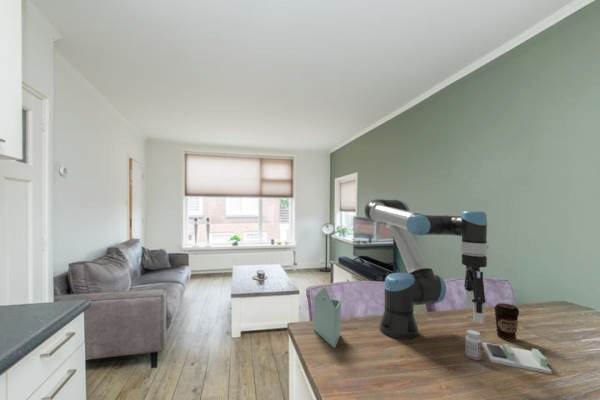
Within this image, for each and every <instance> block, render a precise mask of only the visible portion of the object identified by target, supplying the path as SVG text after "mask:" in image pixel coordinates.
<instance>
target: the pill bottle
mask: <svg viewBox="0 0 600 400" xmlns="http://www.w3.org/2000/svg"><path fill="white" fill-rule="evenodd" d="M464 341H465V349H464V350H465V351H464V354H465V356H466V357H467V358H469V359H472V360H475V361H479V360H481V359H482V339H481V333H480V332H479V331H476V330H474V329H468V330H466V336H465V340H464Z"/></svg>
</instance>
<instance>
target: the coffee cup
mask: <svg viewBox="0 0 600 400" xmlns="http://www.w3.org/2000/svg"><path fill="white" fill-rule="evenodd" d="M493 309H494V315H495V328H496V335H497V337H498V338H500V339H502V340H505V341H509V342H510V341H511V342H513V341H514V342H515V341H517V331H518V326H519V319H518V318H519V315H520V310H519V308H518V306H515V304H511V303H510V304H509V303H501V302H500V303H499V302H498V303H496V305H495V306H494V308H493Z"/></svg>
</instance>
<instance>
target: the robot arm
mask: <svg viewBox="0 0 600 400" xmlns="http://www.w3.org/2000/svg"><path fill="white" fill-rule="evenodd" d="M364 215H365V216H366V218H367V219H368V220H370V221H372V222H376V223H380V222H381V223H383V224H384V225H385V227H386V229H389V230H390V232H391V234H392V237H393V239H394V241H395V244H396V247H397V248H398V252H399V254H400V256H401V259H402V261H403V263H404V266H405V268H406V271H407V272H393V273H389V274H387V275H386V277H385V279H384V285H383V287H384V309H383V313H382V316H381V318H380V320H379V321H380V322H379V330H380V331H381V332H382V333H383V334H384V335H386V336H389V337H390V338H395V339H398V340H399V339H400V340H412V339H416V338H417V337H418V336H419V327H418V325H417V324H418V323H417V321H416V317H415V312H414V311H415V310H414V309H415V306H419V305H435V304H439V303H441V302H443V301H444V299H446V298H445V297H446V294H447V285H446V282H445V280H444V279H443V277H441V276H440V275H438V274H435V273H434V271H433V269H432V267H428V266H427V264H426V262H425V260H424V258H423V254H422V253H421V251H420V249H419V246H418V245H417V242H416V240H415V238H414V236H413V235H415V236H457V237H458V236H459V237H461V253H462V254H461V264H462V265H463V266H465V275H464V277H465V278H464V284H463V286H464V289H465V293H464V295H465V304H464V305H465V308H464V309H467V310H472V311H473V312H472V313H473V318H472V320H473V322H474V323H479V324H484V310H485V309H484V304H485V303H486V302H487V301H486V294H485V285H484V284H485V283H484V272H483V271H481V270H480V268H486V267H487V266H488V265H487V264H488V257H487V256H486V255H488V254H487V253H488V252H487V249H489V246H488V245H487V236H488V235H487V234H488V219H487V213H486V212H485V211H482V210H480V211H479V210H463V211H462V213H461V216H459V215H445V214H444V215H431V214H428V215H427V214H422V213H418V212H415V211H410V209H409V206H408V204H407V203H406V202H405V201H403V200H398V199H380V198H379V199H378V198H376V199H372V200H370V201H368V202H367V203H366V205H365V207H364Z"/></svg>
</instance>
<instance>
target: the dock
mask: <svg viewBox="0 0 600 400" xmlns="http://www.w3.org/2000/svg"><path fill="white" fill-rule="evenodd" d="M481 347H482V348H483V349H484V351H485V354H486V355H487V357H488V360H489V361H490V362H491V363H494V364H500V365H505V366H509V367H515V368H520V369H524V370H528V371H529V370H531V371H535V372H539V373H545V374H551V375H552V370H551V369H550V368H549V366H548V358H546V357H545V356H544V355H543V354H542V352H541V351H540V350H539V349H538V348H532V347H531V350H527V349H522V348H518V347H517V348H516V347H512V346H510V345H509V344H508V343H503V342H502V343H501V345H500V344H494V343H489V342H484V341H481Z"/></svg>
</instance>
